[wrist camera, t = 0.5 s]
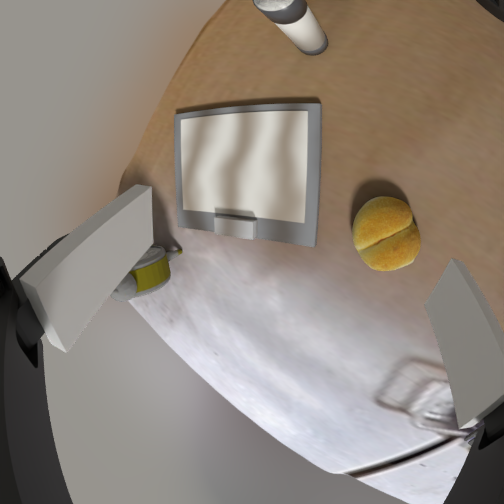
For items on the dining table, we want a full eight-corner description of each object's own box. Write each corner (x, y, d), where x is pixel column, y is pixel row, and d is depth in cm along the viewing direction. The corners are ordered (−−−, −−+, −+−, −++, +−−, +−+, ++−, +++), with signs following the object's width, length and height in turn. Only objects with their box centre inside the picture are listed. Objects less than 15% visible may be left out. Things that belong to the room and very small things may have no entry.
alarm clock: (184, 241, 46) (115, 276, 33) (192, 279, 48) (130, 321, 35) (140, 241, 51) (77, 269, 38) (147, 274, 53) (89, 306, 40)
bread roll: (399, 185, 29) (402, 188, 25) (425, 252, 30) (430, 263, 26) (341, 211, 33) (336, 218, 30) (368, 273, 34) (366, 287, 31)
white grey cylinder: (327, 28, 25) (296, -24, 14) (329, 55, 26) (298, 8, 16) (296, 30, 27) (252, -17, 16) (296, 56, 28) (252, 15, 17)
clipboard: (321, 105, 29) (317, 101, 27) (316, 244, 36) (311, 250, 34) (178, 115, 38) (168, 114, 36) (182, 225, 45) (172, 229, 43)
